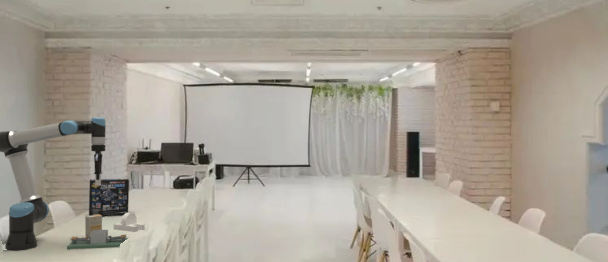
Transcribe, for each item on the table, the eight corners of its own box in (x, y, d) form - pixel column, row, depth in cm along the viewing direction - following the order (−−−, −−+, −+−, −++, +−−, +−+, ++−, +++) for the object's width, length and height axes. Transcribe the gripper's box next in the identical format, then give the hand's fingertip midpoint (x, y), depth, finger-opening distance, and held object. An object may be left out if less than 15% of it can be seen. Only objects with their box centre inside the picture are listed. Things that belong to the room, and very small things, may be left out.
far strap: (106, 241, 277) (106, 238, 277) (108, 239, 282) (108, 236, 282) (125, 239, 279) (125, 236, 279) (126, 237, 284) (126, 234, 284)
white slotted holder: (134, 232, 311) (134, 215, 311) (112, 229, 318) (112, 212, 318) (145, 229, 320) (145, 212, 320) (123, 226, 327) (123, 210, 327)
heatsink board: (66, 249, 267) (66, 235, 267) (73, 242, 283) (73, 229, 283) (125, 246, 274) (125, 233, 274) (128, 240, 290) (128, 227, 290)
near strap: (91, 240, 280) (91, 236, 280) (89, 242, 275) (90, 238, 275) (72, 239, 277) (72, 236, 277) (70, 241, 273) (70, 238, 273)
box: (128, 213, 372) (128, 178, 372) (129, 215, 366) (129, 179, 366) (88, 216, 360) (88, 179, 360) (89, 218, 354) (89, 180, 354)
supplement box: (98, 235, 300) (98, 214, 300) (102, 236, 297) (102, 215, 297) (84, 237, 294) (85, 215, 294) (88, 239, 291) (89, 216, 291)
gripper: (103, 144, 279) (103, 186, 280) (107, 143, 292) (106, 183, 292) (89, 144, 278) (88, 186, 278) (93, 143, 290) (93, 184, 291)
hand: (98, 185), depth 285 cm, fingers closed
